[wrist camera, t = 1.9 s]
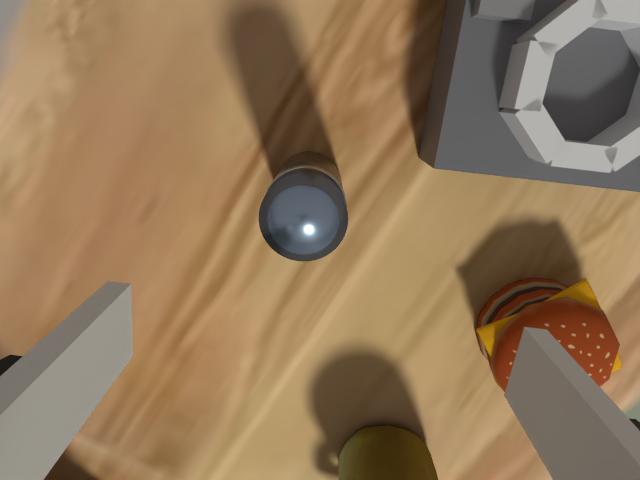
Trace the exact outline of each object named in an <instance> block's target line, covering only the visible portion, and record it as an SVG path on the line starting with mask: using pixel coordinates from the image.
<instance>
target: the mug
mask: <svg viewBox="0 0 640 480" xmlns="http://www.w3.org/2000/svg"><path fill="white" fill-rule="evenodd" d="M338 466H339V480H438V477H437V473H436V470H435V467H434V464H433V461H432V457H431V454H430V452H429V450H428V448H427V446H426V444H425V443H424V441H423V440H422V439H421V438H420V437H419V436H418V435H416V434H414V433H413V432H411V431H410V430H408V429H405V428H398V427H394V426H389V425H385V426H372V427H365V428H362V429H360V430H358V431H357V432H356V433H355V434H354V435H353V436H352V437H351V438H350V439H349V440H348V441H347V442H346V443H345V445H344V447H343V449H342V451H341V453H340V456H339V460H338Z"/></svg>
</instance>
